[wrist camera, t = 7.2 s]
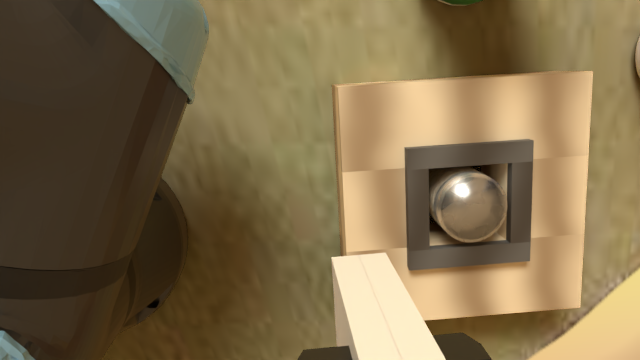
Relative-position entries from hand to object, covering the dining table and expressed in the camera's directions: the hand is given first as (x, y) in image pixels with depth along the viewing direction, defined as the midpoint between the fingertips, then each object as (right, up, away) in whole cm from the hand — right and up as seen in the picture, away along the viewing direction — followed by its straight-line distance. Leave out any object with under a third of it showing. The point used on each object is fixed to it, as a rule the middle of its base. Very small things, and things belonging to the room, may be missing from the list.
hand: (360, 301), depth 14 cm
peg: (+9, +3, +28) cm, 30 cm away
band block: (+9, +3, +28) cm, 30 cm away
